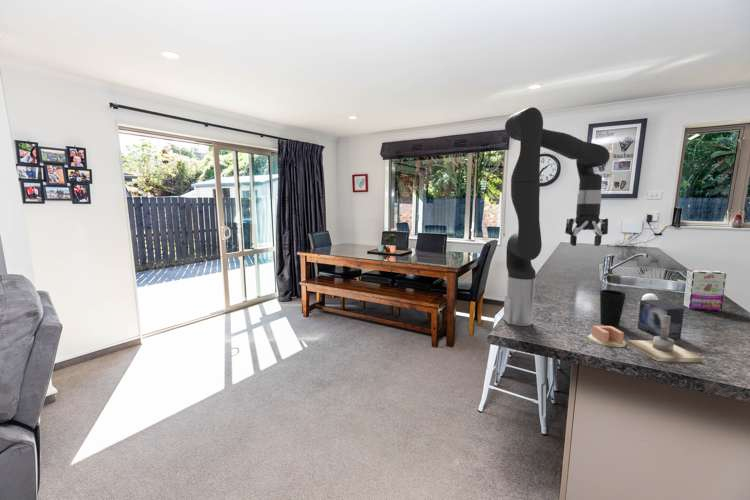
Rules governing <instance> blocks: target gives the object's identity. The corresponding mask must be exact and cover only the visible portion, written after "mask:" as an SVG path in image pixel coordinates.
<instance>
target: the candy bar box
mask: <svg viewBox="0 0 750 500" xmlns="http://www.w3.org/2000/svg"><path fill="white" fill-rule="evenodd" d="M726 277H727V272H724V271H721V270H703V269H702V270H700V269H687V271H686V279H685V289H684V295H683V298H684V299H683V305H684V306H686V307H688V308H687V309H689V308H690V309H689V310H696V309H710V310H722V309H723V302H724V301H723V300H724V295H725V294H724V292H725V286H726ZM684 306H683V307H684ZM686 307H685V308H686ZM710 310H709V311H710ZM722 311H723V310H722Z"/></svg>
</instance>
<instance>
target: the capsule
mask: <svg viewBox="0 0 750 500" xmlns="http://www.w3.org/2000/svg"><path fill="white" fill-rule="evenodd" d="M641 300H659V297H658V296H657V295H656V294H654V293H645V294H644V295H642V297H641Z"/></svg>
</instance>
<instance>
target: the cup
mask: <svg viewBox="0 0 750 500" xmlns="http://www.w3.org/2000/svg"><path fill="white" fill-rule="evenodd" d="M599 299H600V300H599V301H600V302H599V305H600V307H599V309H600V311H599V312H600V315H599V317H600V324H602V326H612V327H614V328H618V327H620V326H619V325H620V323H621V317H622V313H623V309H624V306H625V305H624V303H625V300H626V293H625V292H622V291H619V290H613V289H612V290H610V289H601V290H599Z"/></svg>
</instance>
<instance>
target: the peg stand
mask: <svg viewBox="0 0 750 500" xmlns="http://www.w3.org/2000/svg"><path fill="white" fill-rule="evenodd" d="M670 319H671V317H670V316H667V315H663V316H662V325H661V333H660V336H656V335H653V339H652V340H644V339H642V340H639V339H638V340H637V339H633V340H632V339H627V342H626V345H629V346H630V347H632V348H634V349H635V350H637V351H639V352H641V353H642V354H644V355H646V356H648V357H649V358H651V359H653V360H655V361H656V362H669V363H670V362H672V363H674V362H675V363H678V362H679V363H703V357H700V356H699V355H696V354H694V353H693V352H690V351H688V350H687V349H684V348H682V347H680V346H678V345H676V344H675V339H670V338H668V335H669V327H670Z"/></svg>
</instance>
